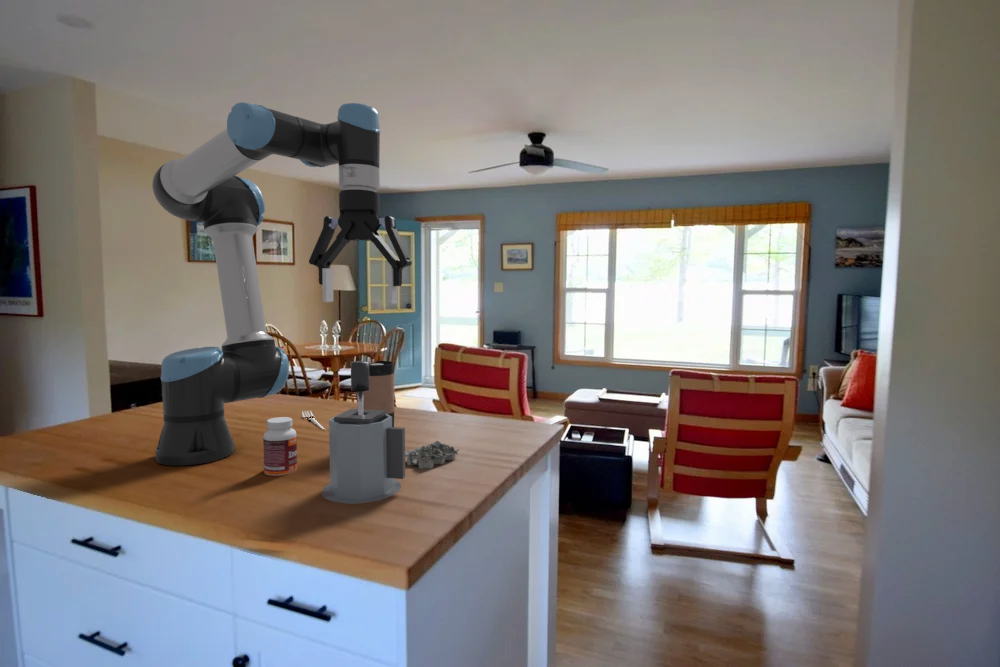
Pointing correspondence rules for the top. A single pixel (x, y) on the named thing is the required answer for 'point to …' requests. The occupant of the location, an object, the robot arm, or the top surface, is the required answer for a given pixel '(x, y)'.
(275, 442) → the pill bottle
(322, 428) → the fork
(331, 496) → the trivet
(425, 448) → the egg carton
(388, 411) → the travel mug
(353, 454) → the carafe
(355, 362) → the plunger
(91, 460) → the top surface
